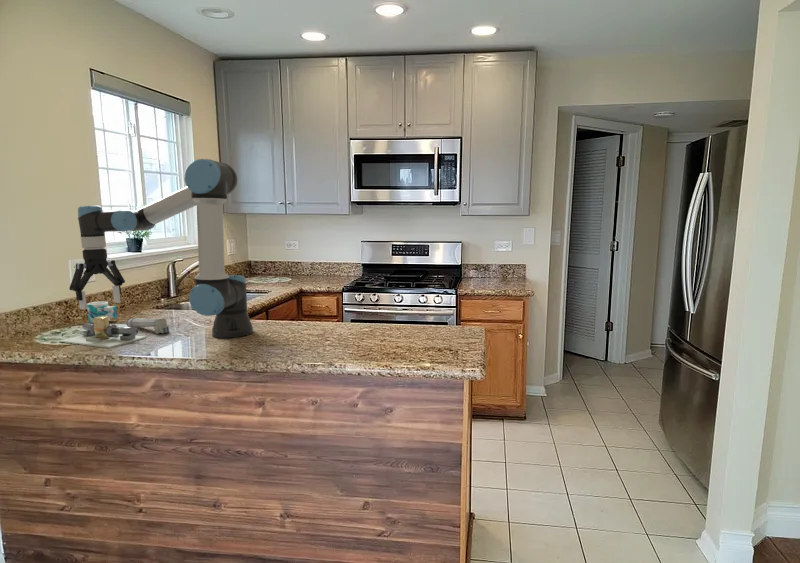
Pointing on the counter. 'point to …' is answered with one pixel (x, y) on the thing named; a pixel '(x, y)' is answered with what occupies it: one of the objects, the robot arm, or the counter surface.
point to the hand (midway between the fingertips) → (101, 305)
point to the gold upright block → (101, 327)
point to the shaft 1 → (88, 329)
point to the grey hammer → (150, 324)
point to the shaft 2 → (121, 332)
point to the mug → (100, 310)
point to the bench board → (100, 341)
